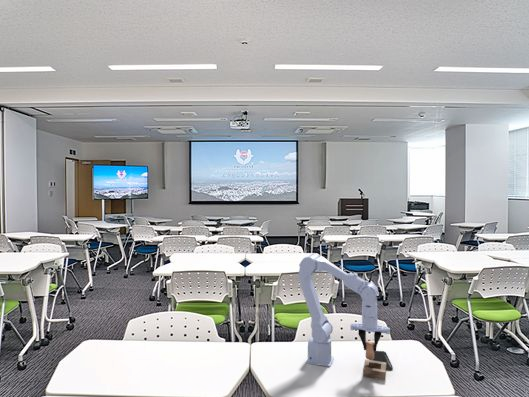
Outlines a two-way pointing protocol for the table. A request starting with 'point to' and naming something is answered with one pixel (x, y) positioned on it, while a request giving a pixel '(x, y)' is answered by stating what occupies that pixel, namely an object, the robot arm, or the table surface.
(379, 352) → the phone
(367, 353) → the peg
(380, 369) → the socket block
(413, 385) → the table surface
